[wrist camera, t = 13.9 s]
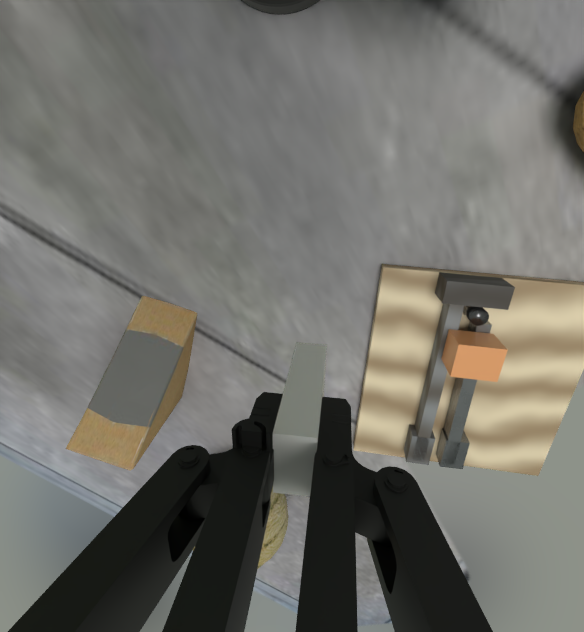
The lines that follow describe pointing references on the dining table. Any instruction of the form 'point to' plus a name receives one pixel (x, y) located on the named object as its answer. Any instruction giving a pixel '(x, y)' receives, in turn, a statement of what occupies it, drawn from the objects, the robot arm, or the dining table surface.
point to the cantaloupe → (274, 527)
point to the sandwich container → (138, 385)
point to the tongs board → (489, 397)
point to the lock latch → (473, 355)
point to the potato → (579, 122)
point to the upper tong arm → (460, 403)
